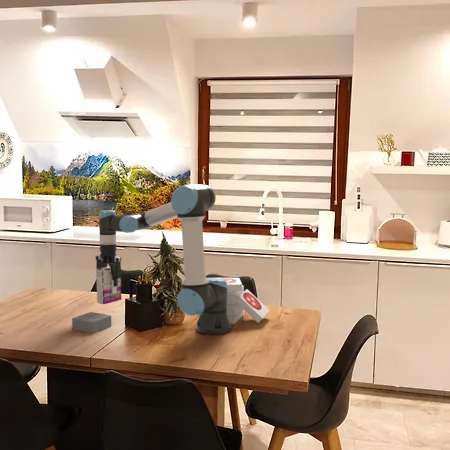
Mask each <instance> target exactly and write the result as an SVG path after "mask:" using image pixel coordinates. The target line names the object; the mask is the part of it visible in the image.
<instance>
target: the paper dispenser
mask: <svg viewBox="0 0 450 450" xmlns="http://www.w3.org/2000/svg"><path fill="white" fill-rule="evenodd" d="M217 278H218V279H223V280H225V281H226V282H227V288H228V289H227V315H228V318H229V322H230V324H231V325H232V324H233V325H235V324H236V323H238V321H240V319H241V318H242V317H243V316H244V311H245V312H246V313H247V314H248V315H249V316H250V317H251V318H252V319H253V320H254V321H255V323H258V324H259V323H260V322H261V321H262V320H263V319H264V318H265V316H266V315H267V314H268V313H269V311H270V309H269V308H268V307H267V306H266V305H265V304H264V303H263V302H261V300H259V298H257V297H256V296H255V295H254V294H253V293H252V292H251V291H250V290H249V289H247V288H246V289H245V285H243V283H242V281H241V279H240V277H217Z"/></svg>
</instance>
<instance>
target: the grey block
mask: <svg viewBox="0 0 450 450" xmlns="http://www.w3.org/2000/svg"><path fill="white" fill-rule="evenodd" d="M111 327H112V315H111V314H110V315H109V314H105V313H98V312H94V311H89V312H86V313H84V314H80V315H78V316H75V317H72V318H71V330H74V331H79V332H82V333H89V334H96V333H98V332H101V331H103V330H105V329H106V330H107V329H109V328H111Z"/></svg>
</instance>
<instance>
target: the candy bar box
mask: <svg viewBox="0 0 450 450" xmlns="http://www.w3.org/2000/svg"><path fill="white" fill-rule="evenodd" d="M95 276H96V302H97V304H101V305H107V304H110V303H114V302H118V301H122V277H121V278H119V279H118V286H117V293H114V294H112V282H111V280H112V279H113V277H112V273H111V268H110V266H109V265H107V267H103V268H98V269H95Z"/></svg>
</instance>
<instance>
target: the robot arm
mask: <svg viewBox="0 0 450 450" xmlns="http://www.w3.org/2000/svg"><path fill="white" fill-rule="evenodd" d="M171 194H172V195H171V199H170V201H169V202H168V203H165V204H162V205H159V206H158V207H155V208H151V209H149V210H147V211H144V212H142V213H137V214H136V213H135V214H134V213H133V214H127V215H126V214H125V215H118V214H117V213H116V211H115V210H113V209H112V210H111V209H110V210H109V209H107V210H105V209H104V210H100V211H99V213H98V216H99V217H98V221H99V222H98V226H99V243H100V244H99V252H100V254H99V255H95V260H96V262H95V263H96V265H95V266H96V267H95V268H96V269H98V268H103V267H108V266H110V268H111V273H112V277H113V279H112V280H111V282H112V294H114V293H117V286H118V279H119V278H121V279H122V267H121V266H122V265H121V262H122V257H121V256H120V257H119V256H117V254H116V253H117V244H116V243H117V232H118V233H135V232H136V231H140V230H141V231H142V230H148V229H151V228H153V227H154V226H156V225H160V224H162V223H165V222H168V221H171V220H173V219H178V220H179V221H180V222H181V234H182V250H183V265H184V266H183V268H184V279H183V280H182V282H181V290H180V291H179V293H178V294H177V296H176V300H177V306H178V308H179V309H180V311H182V312H183V314H185V315H187V316H191V317H192V316H193V317H194V316H197V315H199V316H198V319H197V322H196V331H197V332H199V333H201V334H204V335H205V334H206V335H223V334H227V333H229V332H230V331H231V323H230V322H229V318H228V315H227V289H228V288H227V282H226V281H225V280H223V279H218V278H219V277H206V268H205V267H206V266H205V249H204V247H205V245H204V231H203V230H204V229H203V220H204V219H205V218H206V211H209V210H210V209H212V208H213V207H214V205H215V203H216V200H217V199H216V193H215V191H214V190H213V188H212V187H211V186H209V185H207V184H184V185H180V186H178V187H176V189H175V190H174V191H173V192H172V193H171ZM96 269H95V270H96Z"/></svg>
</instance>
